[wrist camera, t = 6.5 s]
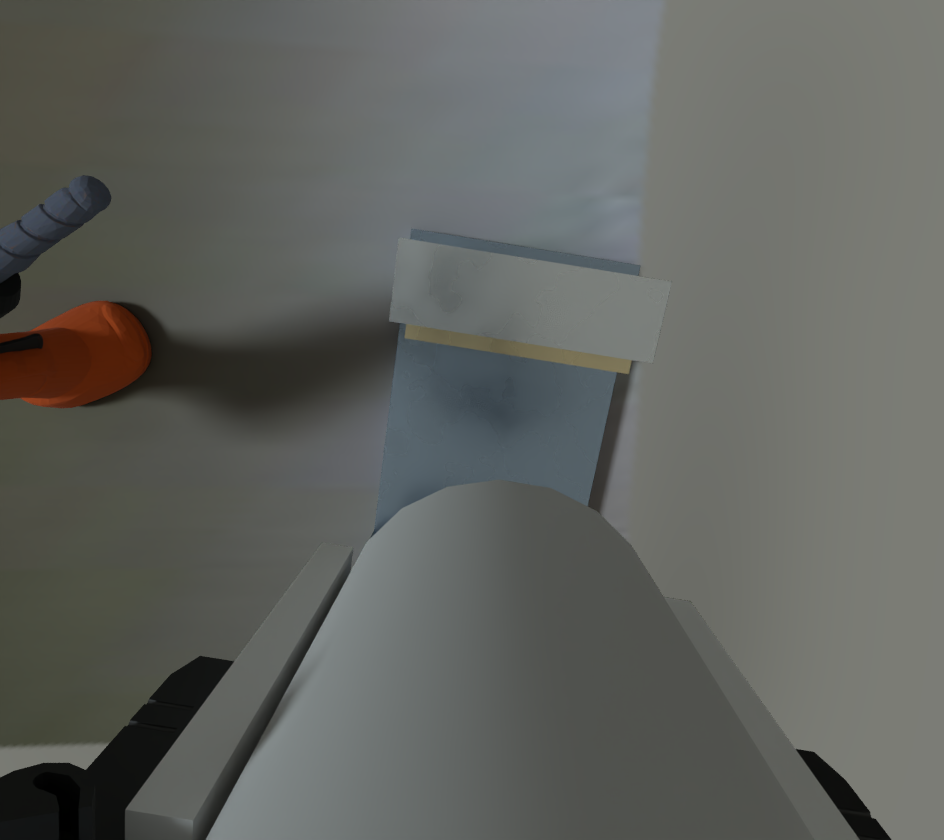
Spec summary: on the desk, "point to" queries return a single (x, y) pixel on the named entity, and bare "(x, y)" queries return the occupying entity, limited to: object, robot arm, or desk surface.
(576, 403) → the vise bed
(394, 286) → the block
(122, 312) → the toy drill
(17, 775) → the robot arm
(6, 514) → the desk surface
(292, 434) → the desk surface
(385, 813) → the can
